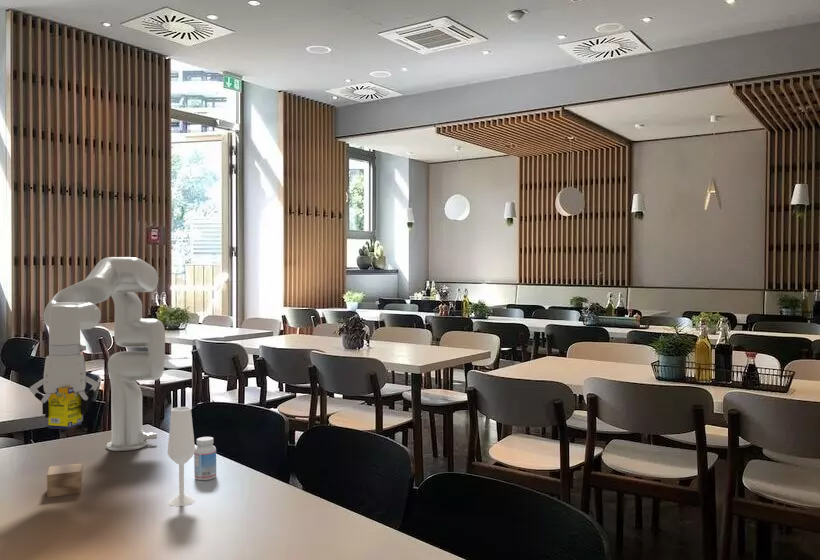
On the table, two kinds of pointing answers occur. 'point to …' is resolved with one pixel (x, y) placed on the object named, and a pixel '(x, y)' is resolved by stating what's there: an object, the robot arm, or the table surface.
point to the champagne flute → (181, 448)
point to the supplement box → (64, 409)
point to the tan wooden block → (64, 480)
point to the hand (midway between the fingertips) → (65, 415)
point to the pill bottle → (205, 459)
